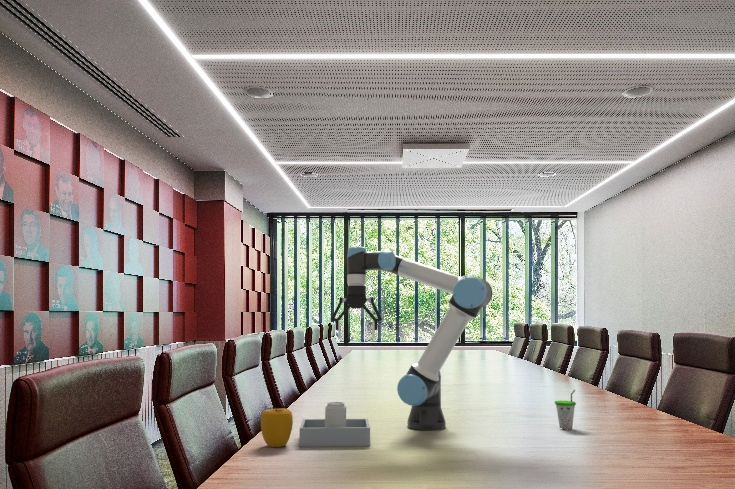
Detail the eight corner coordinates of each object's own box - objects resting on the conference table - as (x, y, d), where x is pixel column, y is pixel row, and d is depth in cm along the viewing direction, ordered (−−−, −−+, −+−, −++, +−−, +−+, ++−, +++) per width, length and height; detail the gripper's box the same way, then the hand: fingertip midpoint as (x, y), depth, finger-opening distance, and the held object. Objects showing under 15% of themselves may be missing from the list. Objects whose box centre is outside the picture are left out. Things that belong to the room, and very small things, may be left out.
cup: (554, 429, 238) (553, 390, 240) (556, 426, 246) (555, 388, 247) (575, 431, 236) (574, 391, 237) (577, 427, 243) (575, 389, 244)
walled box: (367, 435, 227) (367, 418, 228) (370, 445, 210) (370, 427, 210) (302, 435, 226) (302, 419, 227) (299, 446, 209) (299, 428, 209)
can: (343, 439, 214) (343, 404, 215) (322, 438, 215) (322, 403, 217) (348, 435, 221) (348, 401, 222) (328, 434, 223) (328, 400, 224)
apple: (280, 441, 217) (280, 403, 219) (299, 445, 210) (299, 407, 211) (253, 445, 210) (254, 407, 211) (272, 450, 202) (273, 410, 203)
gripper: (386, 285, 252) (386, 338, 249) (325, 285, 251) (325, 338, 248) (388, 285, 244) (388, 339, 242) (325, 284, 243) (324, 339, 241)
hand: (356, 338), depth 245 cm, fingers open, 13 cm apart
